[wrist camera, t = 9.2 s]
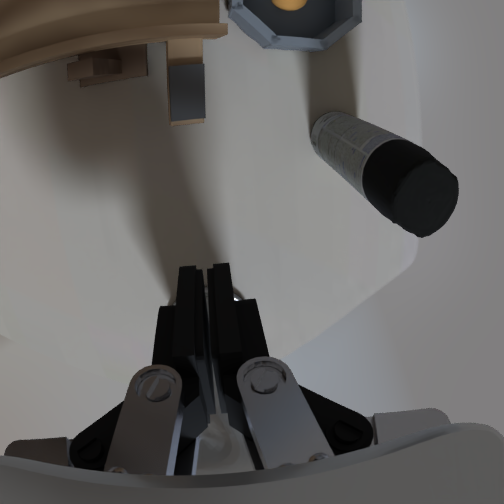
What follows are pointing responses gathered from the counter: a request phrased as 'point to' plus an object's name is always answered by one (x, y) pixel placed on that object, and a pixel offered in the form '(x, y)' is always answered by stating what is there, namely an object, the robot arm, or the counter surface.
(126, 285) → the counter surface
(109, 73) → the pivot stand
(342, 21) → the octagonal bowl
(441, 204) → the spray can
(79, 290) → the counter surface
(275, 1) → the ball
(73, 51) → the lever tray
